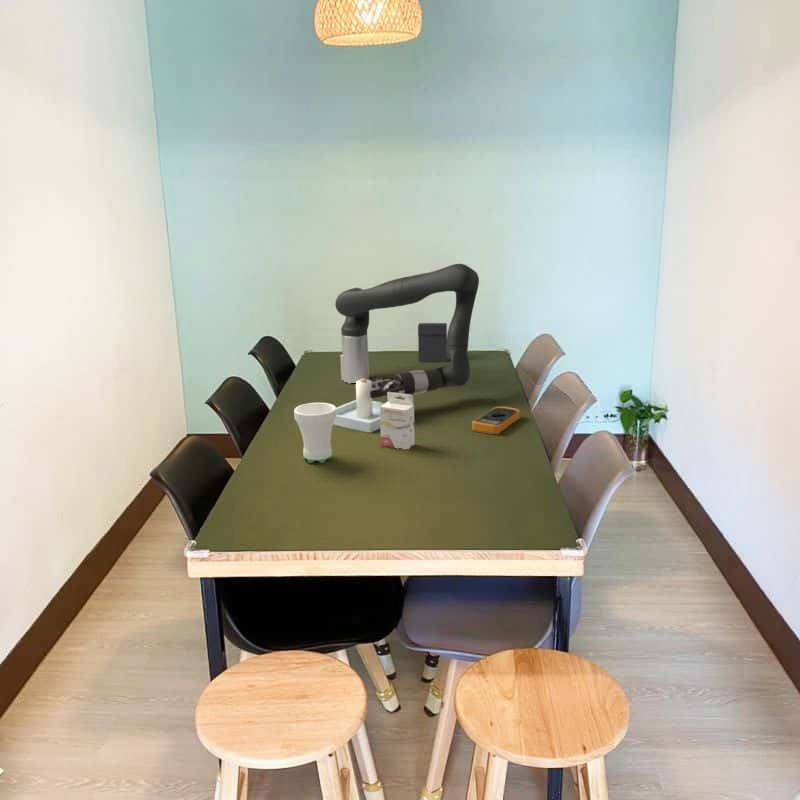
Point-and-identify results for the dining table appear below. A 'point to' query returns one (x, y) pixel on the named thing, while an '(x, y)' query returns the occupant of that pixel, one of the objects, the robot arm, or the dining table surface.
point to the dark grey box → (432, 342)
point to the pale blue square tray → (349, 419)
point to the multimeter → (496, 420)
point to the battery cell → (364, 398)
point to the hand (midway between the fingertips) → (364, 391)
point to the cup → (316, 429)
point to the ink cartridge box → (397, 421)
